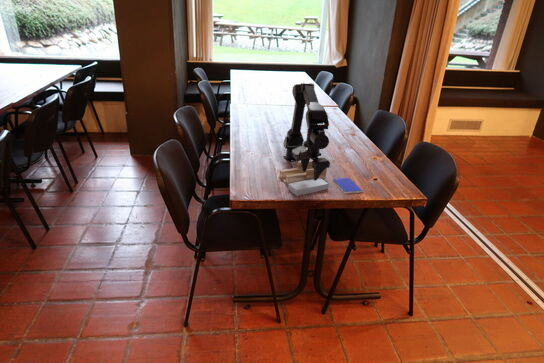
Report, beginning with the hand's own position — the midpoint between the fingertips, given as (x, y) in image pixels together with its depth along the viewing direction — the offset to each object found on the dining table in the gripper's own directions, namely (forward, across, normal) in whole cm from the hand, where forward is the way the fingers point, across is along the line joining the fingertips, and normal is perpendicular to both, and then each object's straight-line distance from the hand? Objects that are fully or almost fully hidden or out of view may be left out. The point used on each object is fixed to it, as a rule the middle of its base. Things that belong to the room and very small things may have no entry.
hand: (309, 175), depth 151 cm
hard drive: (+7, +3, +18) cm, 20 cm away
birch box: (+6, -11, +3) cm, 13 cm away
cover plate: (+7, 0, 0) cm, 7 cm away
